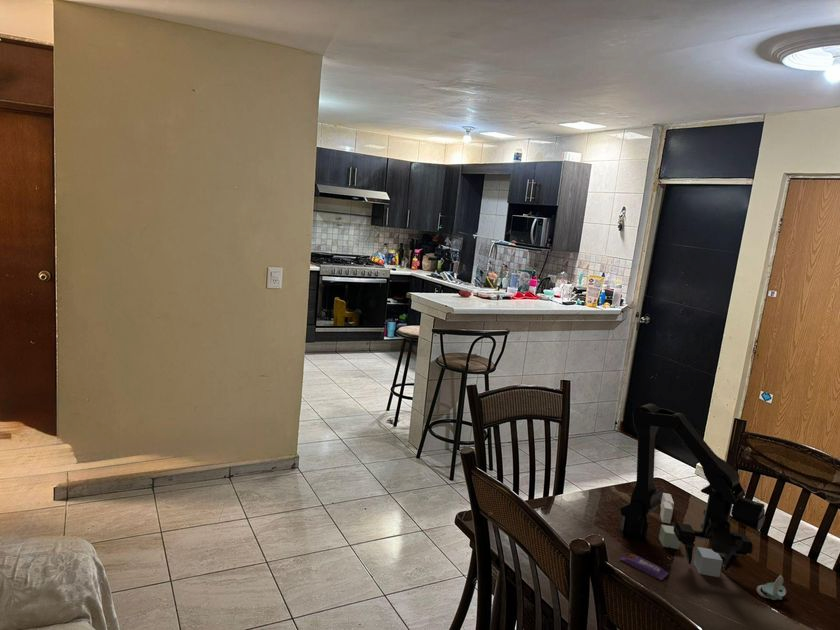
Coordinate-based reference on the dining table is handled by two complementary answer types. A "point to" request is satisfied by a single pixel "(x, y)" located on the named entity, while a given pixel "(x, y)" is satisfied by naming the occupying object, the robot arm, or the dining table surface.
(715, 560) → the blue block
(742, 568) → the dining table surface
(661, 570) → the snack package
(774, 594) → the pacifier
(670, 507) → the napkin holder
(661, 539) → the sage block
